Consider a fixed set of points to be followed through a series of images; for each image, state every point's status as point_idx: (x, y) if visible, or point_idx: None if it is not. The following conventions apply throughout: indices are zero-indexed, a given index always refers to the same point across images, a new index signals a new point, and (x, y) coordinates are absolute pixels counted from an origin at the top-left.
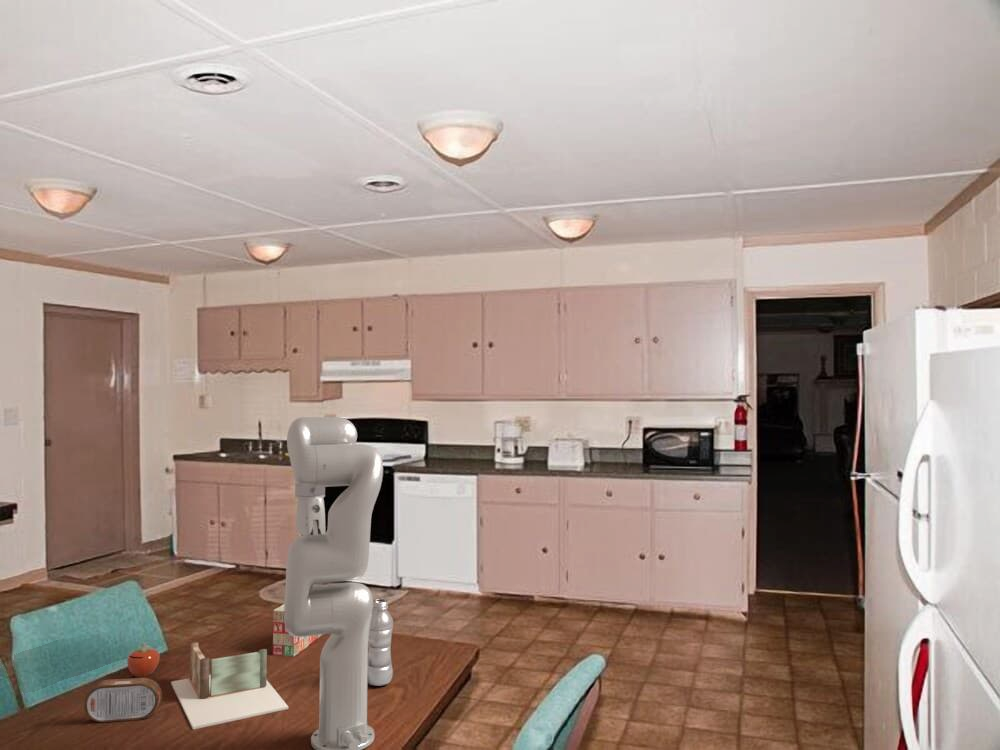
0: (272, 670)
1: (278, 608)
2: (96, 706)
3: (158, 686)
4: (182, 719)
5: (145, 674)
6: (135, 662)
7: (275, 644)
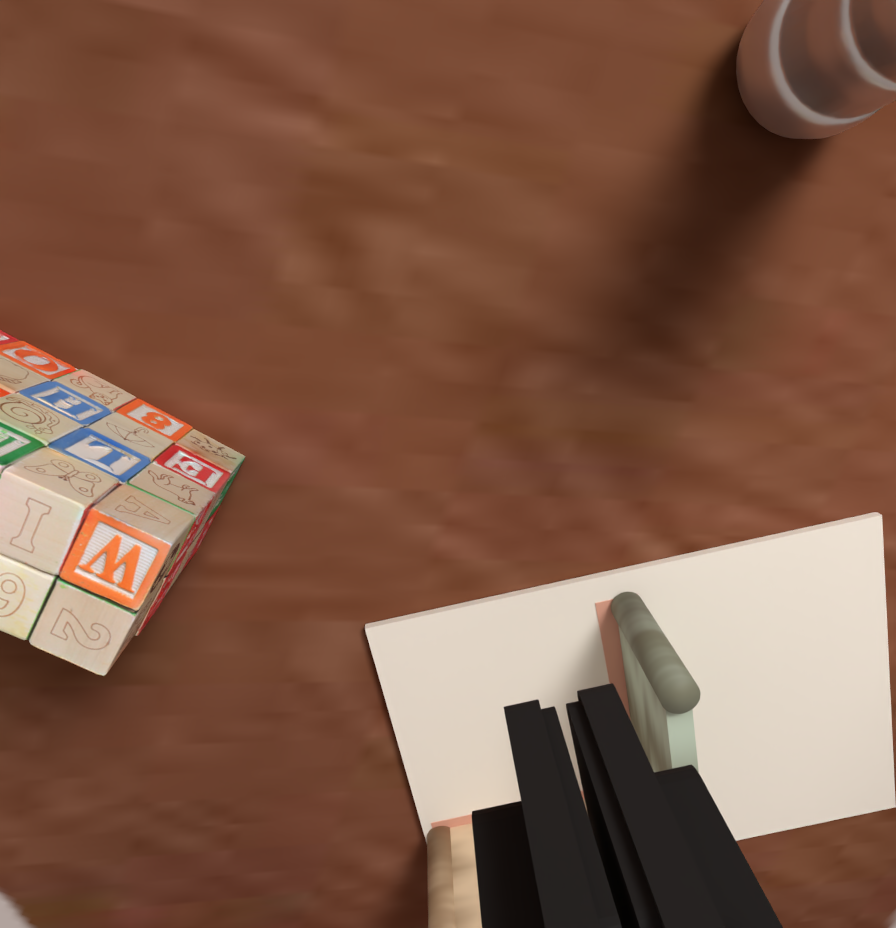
0: (416, 556)
1: (64, 645)
2: None
3: None
4: (790, 834)
5: None
6: None
7: (186, 561)
